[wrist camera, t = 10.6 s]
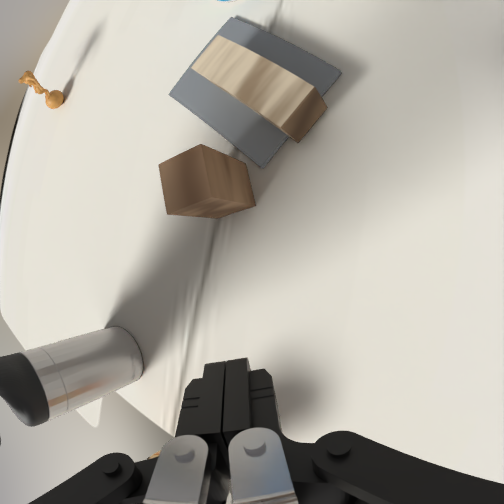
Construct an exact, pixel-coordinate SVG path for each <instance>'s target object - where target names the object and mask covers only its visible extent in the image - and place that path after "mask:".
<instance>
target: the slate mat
mask: <svg viewBox="0 0 504 504" xmlns="http://www.w3.org/2000/svg"><path fill="white" fill-rule="evenodd" d="M217 35H220V36H222V37H224V38H226V39H228V40H230V41H232V42H235V43H237V44H239V45H241V46H243V47H245V48H247V49H249V50H251V51H253V52H254V53H256V54H258V55H260V56H262V57H264V58H266V59H268V60H270V61H271V62H273V63H275V64H277V65H279V66H280V67H282V68H284V69H286V70H287V71H289V72H291V73H293V74H294V75H296V76H298V77H299V78H301V79H303V80H304V81H306V82H307V83H309V84H311V85H312V86H314V87H315V88H316V89H317V90H318V92H319V94H320V95H321V97H322V96H323V95H324V93H325V92H326V91H327V90H328V89H329V88H330V86H331V85H332V84H333V83H334V82H335V81H336V79H337V78H338V77H339V76H340V75H341V74H342V73H341V71H340V70H338V69H337V68H335V67H333V66H332V65H330V64H328V63H326V62H325V61H323V60H321V59H319V58H318V57H316V56H314V55H312V54H310V53H308V52H307V51H305V50H303V49H301V48H299V47H297V46H295V45H293V44H291V43H289V42H287V41H285V40H283V39H281V38H279V37H277V36H275V35H272V34H270V33H268V32H266V31H264V30H261V29H259V28H257V27H255V26H252V25H250V24H248V23H245V22H243V21H240V20H238V19H235V18H233V17H231V18H230V19H229V20H228V21H227V22H226V23H225V24H224V25H223V26H222V28H221V29H220V30H219V31H218V32H217V33H216V35H215V36H214V37H213V38H212V39H211V40H210V42H209V43H208V44H207V45H206V46H205V48H204V49H203V50H202V51H201V52H200V54H199V55H198V56H197V57H196V59H195V60H194V61H193V63H192V64H191V65H190V66H189V68H188V69H187V70H186V72H185V73H184V74H183V76H182V77H181V78H180V80H179V81H178V82H177V84H176V85H175V86H174V88H173V89H172V90H171V92H170V93H169V95H170V96H171V97H172V98H174V99H175V100H176V101H178V102H179V103H180V104H182V105H183V106H184V107H186V108H187V109H188V110H190V111H191V112H192V113H194V114H195V115H196V116H198V117H199V118H200V119H201V120H203V121H204V122H205V123H207V124H208V125H209V126H210V127H212V128H213V129H214V130H215V131H217V132H218V133H219V134H221V135H222V136H223V137H224V138H226V139H227V140H228V141H229V142H231V143H232V144H233V145H234V146H235V147H237V148H238V149H239V150H240V151H242V152H243V153H244V154H245V155H246V156H248V157H249V158H250V159H251V160H252V161H254V162H255V163H256V164H257V165H258V166H260V167H261V168H264V167H265V165H266V164H267V163H268V162H269V160H270V159H271V158H272V157H273V155H274V154H275V153H276V152H277V150H278V149H279V148H280V147H281V145H282V144H283V143H284V142H285V140H286V139H287V138H288V137H289V136H288V135H287V134H285V133H284V132H283V131H281V130H280V129H279V128H277V127H276V126H275V125H273V124H272V123H270V122H269V121H268V120H266V119H265V118H263V117H262V116H261V115H259V114H258V113H256V112H255V111H253V110H252V109H251V108H249V107H248V106H246V105H245V104H243V103H242V102H240V101H239V100H237V99H236V98H234V97H233V96H231V95H230V94H228V93H227V92H225V91H224V90H222V89H221V88H219V87H218V86H216V85H215V84H213V83H212V82H210V81H209V80H207V79H206V78H205V77H203V76H202V75H200V74H199V73H197V72H196V71H195V70H193V69H192V68H191V67H192V66H193V64H194V63H195V62H196V61H197V59H198V58H199V57H200V56H201V54H202V53H203V52H204V51H205V49H206V48H207V47H208V46H209V45H210V43H211V42H212V41H213V40H214V39H215V38H216V36H217Z"/></svg>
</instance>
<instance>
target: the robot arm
mask: <svg viewBox="0 0 504 504" xmlns="http://www.w3.org/2000/svg"><path fill="white" fill-rule="evenodd" d="M142 371H143V361H142V356H141V352H140V350H139V347H138V345H137V343H136V342H135V340H134V339H133V337H132V336H131V335H130V334H129V333H128V332H127V331H126V330H124V329H123V328H120V327H115V326H114V327H111V328H107V329H101V330H98V331H94V332H91V333H87V334H84V335H80V336H76V337H73V338H69V339H65V340H62V341H58V342H56V343H53V344H49V345H45V346H41V347H38V348H34V349H30V350H27V351H23V352H19V353H15V354H11V355H7V356H3V357H0V396H1V397H2V398H3V399H4V400H5V401H6V403H7V404H8V405H9V407H10V408H11V410H12V411H13V412H14V413H15V415H16V416H17V417H18V419H19V420H21V421H22V422H23V423H24V424H25V425H27V426H36V425H39V424H42V423H44V422H46V421H49V420H51V419H54V418H56V417H58V416H61V415H63V414H65V413H67V412H70V411H72V410H74V409H77V408H79V407H81V406H83V405H86V404H88V403H90V402H92V401H94V400H97V399H99V398H101V397H103V396H105V395H108V394H110V393H112V392H114V391H116V390H118V389H120V388H123V387H125V386H127V385H129V384H131V383H133V382H135V381H137V380H138V379H139V378H140V376H141V374H142ZM181 407H182V409H181V411H180V416H179V420H178V425H177V430H176V435H175V438H173V439H171V440H170V441H168V442H167V443H166V444H165V445H164V446H163V447H162V449H161V451H160V454H159V456H157V457H155V458H151V459H148V460H144V461H140V462H136V463H134V462H133V460H132V459H131V458H130V457H129V456H128V455H126V454H123V453H110V454H107V455H105V456H103V457H101V458H99V459H98V460H96V461H95V462H93V463H92V464H91V465H89V466H88V467H86V468H85V469H83V470H82V471H80V472H78V473H77V474H76V475H74V476H72V477H71V478H69V479H68V480H66V481H65V482H63V483H61V484H60V485H58V486H57V487H55V488H54V489H52V490H50V491H49V492H47V493H46V494H44V495H42V496H40V497H39V498H37V499H35V500H34V501H32V502H30V503H29V504H231V494H230V492H229V482H230V481H229V480H230V479H231V484H232V494H233V504H504V484H501V483H497V482H493V481H489V480H485V479H482V478H478V477H474V476H471V475H467V474H464V473H461V472H457V471H454V470H451V469H448V468H445V467H442V466H439V465H436V464H433V463H430V462H427V461H424V460H421V459H419V458H416V457H413V456H410V455H408V454H405V453H402V452H400V451H397V450H395V449H392V448H390V447H387V446H385V445H382V444H380V443H377V442H375V441H372V440H370V439H368V438H365V437H363V436H361V435H358V434H356V433H353V432H350V431H335V432H331V433H328V434H326V435H324V436H322V437H321V438H319V439H318V440H317V441H316V442H315V443H300V442H295V441H292V440H290V439H288V438H287V437H285V436H284V435H283V434H282V431H281V424H280V418H279V412H278V406H277V401H276V396H275V391H274V386H273V381H272V376H271V375H270V374H269V373H268V372H267V371H266V370H265V369H259V370H253V371H251V369H250V365H249V361H248V358H241V359H235V360H228V361H227V362H226V361H222V362H216V363H208V364H205V366H204V373H203V378H199V379H193V380H192V381H191V382H190V384H189V385H188V386H187V387H186V389H185V393H184V397H183V402H182V406H181ZM0 444H1V438H0Z"/></svg>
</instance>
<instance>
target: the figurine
mask: <svg viewBox="0 0 504 504" xmlns="http://www.w3.org/2000/svg"><path fill="white" fill-rule="evenodd" d="M19 82H21V84H22V83H23V82H24V83H26V84H29V86H30V87H32V86H31V85H33V87H34V90H35V93H38V94H42V93H44V92H45V94H46V96H45V98H46V105H47V106H48V107H49V108H51V109H55V108H58V107H59V106H60V105H61V104H62V103H63V100H64V96H63V94H62V92H61V91H59V90H53V91H51V92H50V93H49V91H48V90H47V89H44V88H43V87H41V85H40V84H39V83H38V81H37V79H35V76H34V75H33V73H32V72H31V71H26V72H25V73H24V75H23V76H22V77H21V78H20V79H19Z"/></svg>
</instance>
